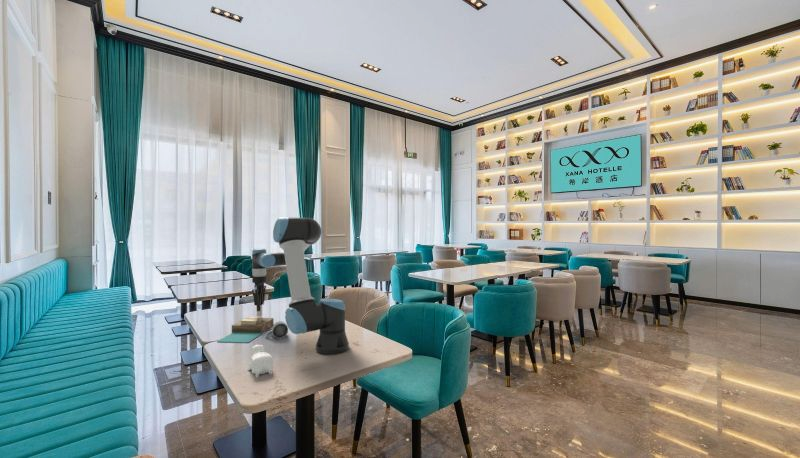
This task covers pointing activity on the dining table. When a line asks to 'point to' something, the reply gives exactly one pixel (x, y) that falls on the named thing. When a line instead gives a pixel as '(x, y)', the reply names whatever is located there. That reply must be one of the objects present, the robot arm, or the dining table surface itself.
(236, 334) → the teal mat
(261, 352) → the white animal figurine
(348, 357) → the dining table surface
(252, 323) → the oak coaster
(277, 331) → the ceramic mug
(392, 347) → the dining table surface
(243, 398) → the dining table surface
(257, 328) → the walnut riser
